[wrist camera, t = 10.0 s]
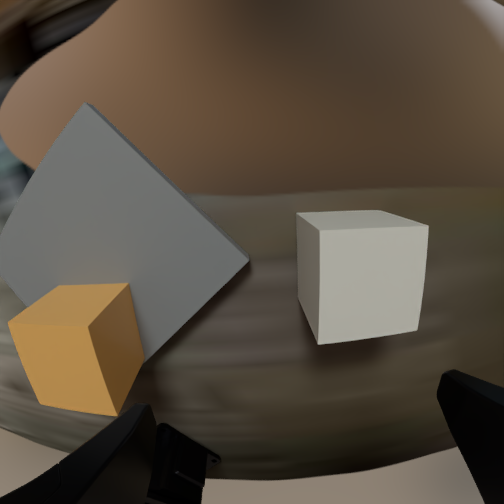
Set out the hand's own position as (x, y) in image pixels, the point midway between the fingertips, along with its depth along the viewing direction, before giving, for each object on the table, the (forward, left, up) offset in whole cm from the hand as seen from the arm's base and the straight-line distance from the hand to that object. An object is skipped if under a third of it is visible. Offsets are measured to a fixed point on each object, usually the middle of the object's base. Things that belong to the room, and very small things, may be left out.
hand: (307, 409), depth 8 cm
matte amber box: (-10, +6, -11) cm, 16 cm away
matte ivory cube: (+4, -2, -12) cm, 13 cm away
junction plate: (-7, +9, -12) cm, 17 cm away
